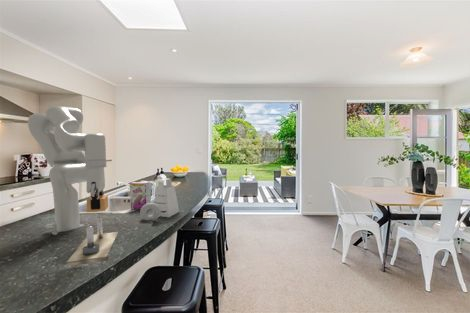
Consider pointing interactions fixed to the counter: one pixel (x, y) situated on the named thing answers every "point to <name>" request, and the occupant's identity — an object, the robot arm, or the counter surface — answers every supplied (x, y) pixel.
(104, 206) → the collar
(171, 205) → the grater
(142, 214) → the donut
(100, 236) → the stand rod
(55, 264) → the counter surface
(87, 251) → the metal peg
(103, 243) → the board
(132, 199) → the candy bar box
